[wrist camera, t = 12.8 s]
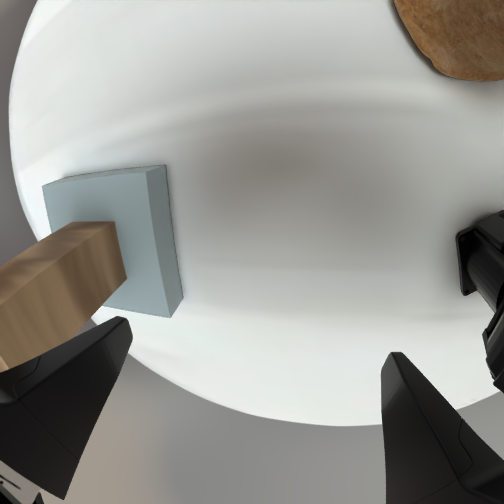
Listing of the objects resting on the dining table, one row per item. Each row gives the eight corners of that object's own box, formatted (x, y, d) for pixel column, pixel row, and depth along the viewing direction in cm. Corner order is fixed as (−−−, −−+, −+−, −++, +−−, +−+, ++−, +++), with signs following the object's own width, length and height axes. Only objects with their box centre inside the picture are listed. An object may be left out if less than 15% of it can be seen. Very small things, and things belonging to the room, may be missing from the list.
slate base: (165, 165, 19) (145, 172, 17) (183, 298, 25) (170, 317, 22) (63, 177, 21) (41, 186, 19) (88, 284, 27) (72, 298, 24)
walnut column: (114, 221, 19) (-19, 323, 7) (127, 278, 21) (27, 393, 9) (72, 221, 20) (-44, 303, 8) (85, 273, 22) (-9, 364, 10)
